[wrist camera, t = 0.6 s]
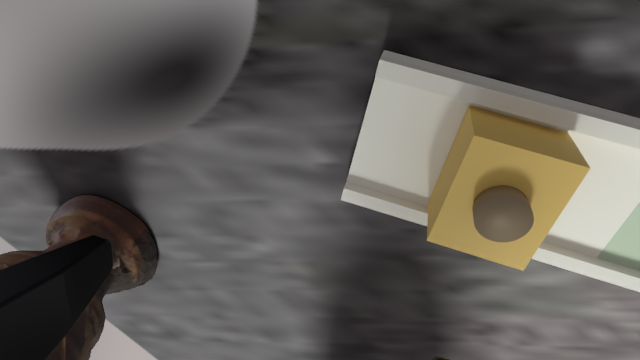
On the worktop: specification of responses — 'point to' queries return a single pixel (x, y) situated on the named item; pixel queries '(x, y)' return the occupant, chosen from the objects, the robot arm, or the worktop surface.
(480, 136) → the carriage
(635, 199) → the rail
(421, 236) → the worktop surface
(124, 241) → the mortar and pestle
